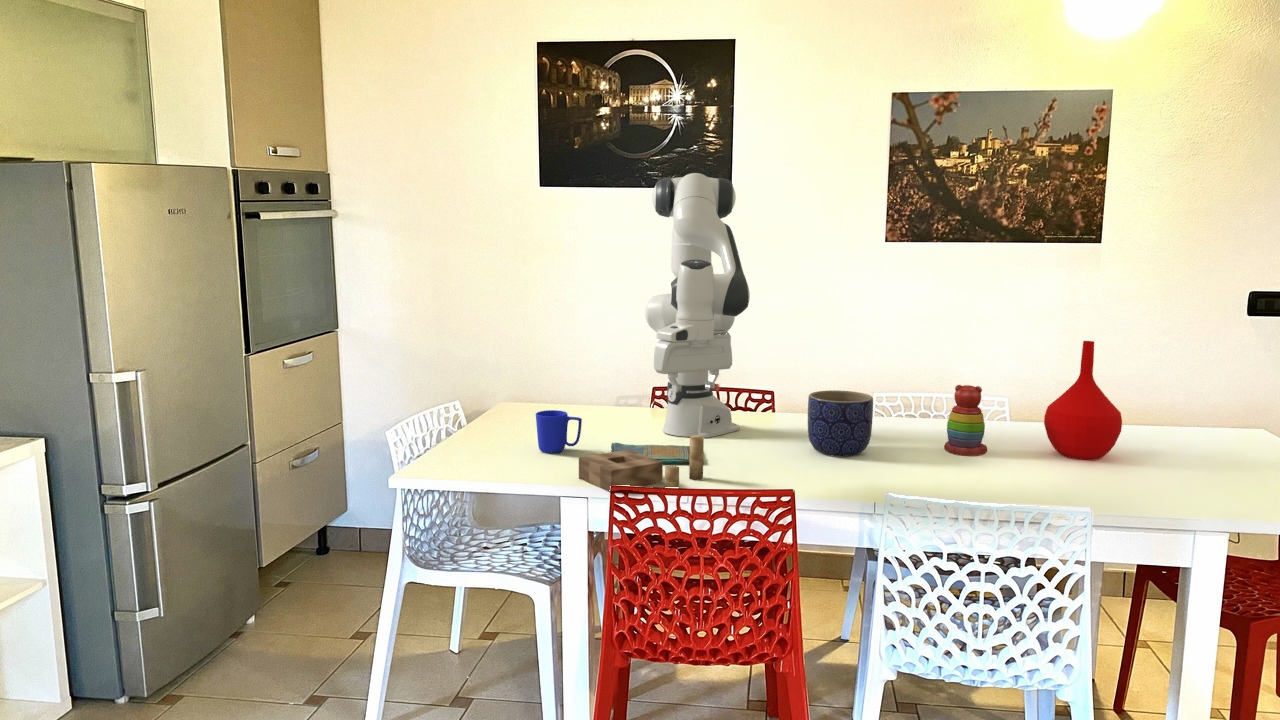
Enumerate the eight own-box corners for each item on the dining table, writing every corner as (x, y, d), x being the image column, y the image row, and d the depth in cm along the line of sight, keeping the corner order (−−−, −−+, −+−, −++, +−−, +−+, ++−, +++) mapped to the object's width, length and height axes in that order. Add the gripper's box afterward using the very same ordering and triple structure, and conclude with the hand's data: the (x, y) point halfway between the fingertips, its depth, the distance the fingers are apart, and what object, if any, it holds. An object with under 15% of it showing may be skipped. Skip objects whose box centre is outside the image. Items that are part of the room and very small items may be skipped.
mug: (577, 456, 247) (577, 418, 246) (531, 453, 250) (531, 415, 248) (585, 448, 255) (585, 411, 254) (541, 446, 258) (541, 409, 256)
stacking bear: (988, 449, 258) (992, 383, 255) (984, 458, 248) (988, 389, 246) (945, 445, 262) (949, 380, 259) (940, 453, 253) (944, 386, 250)
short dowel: (673, 486, 221) (673, 464, 220) (681, 489, 219) (682, 468, 218) (661, 488, 219) (662, 466, 219) (670, 491, 217) (670, 470, 216)
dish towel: (610, 450, 256) (610, 441, 256) (699, 450, 257) (699, 441, 256) (609, 467, 239) (609, 457, 239) (704, 467, 240) (704, 457, 239)
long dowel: (697, 475, 230) (698, 434, 229) (705, 478, 227) (706, 437, 226) (686, 477, 228) (687, 436, 227) (694, 480, 226) (695, 438, 224)
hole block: (628, 469, 235) (628, 449, 234) (662, 483, 224) (662, 461, 223) (578, 478, 227) (578, 457, 226) (611, 492, 216) (611, 470, 215)
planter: (882, 451, 255) (885, 395, 252) (849, 463, 243) (851, 404, 240) (828, 441, 266) (830, 387, 263) (794, 451, 254) (795, 395, 252)
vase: (1043, 460, 247) (1051, 344, 242) (1040, 444, 264) (1048, 335, 259) (1123, 467, 240) (1133, 348, 236) (1115, 450, 257) (1124, 339, 253)
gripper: (722, 328, 232) (720, 385, 234) (650, 331, 221) (649, 391, 223) (738, 330, 226) (737, 389, 228) (666, 334, 215) (665, 396, 217)
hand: (693, 390), depth 225 cm, fingers open, 8 cm apart
